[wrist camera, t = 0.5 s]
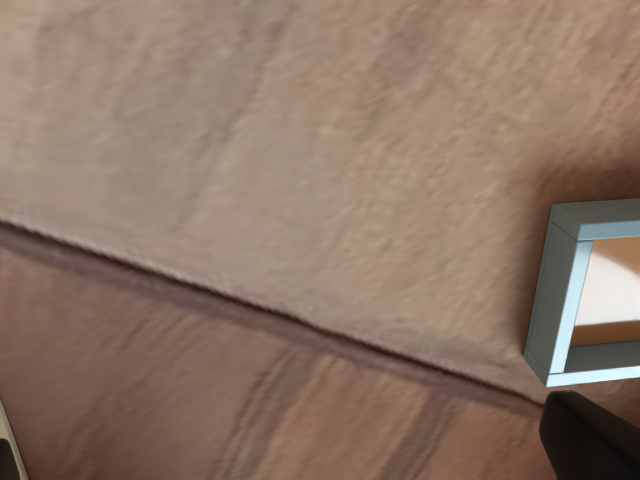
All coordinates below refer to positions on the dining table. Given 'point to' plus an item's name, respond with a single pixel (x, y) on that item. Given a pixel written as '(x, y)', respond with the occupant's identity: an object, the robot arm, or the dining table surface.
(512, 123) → the dining table surface
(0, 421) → the mat
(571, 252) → the holder
